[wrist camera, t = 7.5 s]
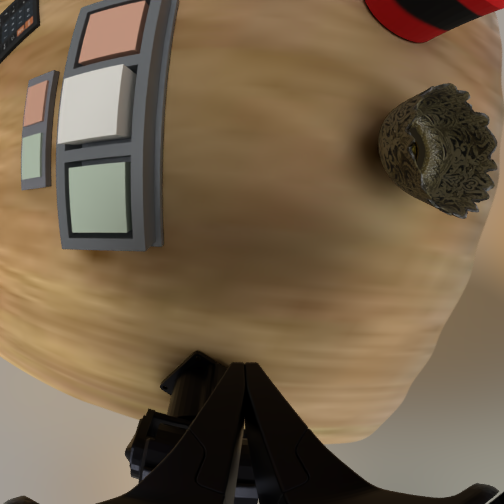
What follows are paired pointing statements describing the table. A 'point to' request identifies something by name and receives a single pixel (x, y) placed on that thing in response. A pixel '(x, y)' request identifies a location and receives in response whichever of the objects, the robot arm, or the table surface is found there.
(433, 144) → the cup
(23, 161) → the strip
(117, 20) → the terracotta key
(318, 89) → the table surface
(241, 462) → the robot arm
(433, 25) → the soda can
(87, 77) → the cream key
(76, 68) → the keypad
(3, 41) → the calculator
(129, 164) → the sage key
